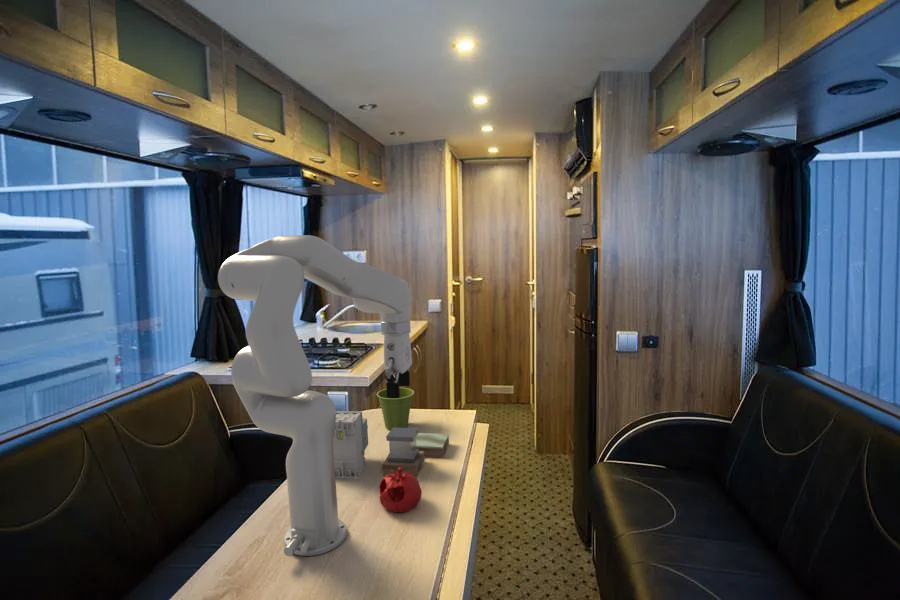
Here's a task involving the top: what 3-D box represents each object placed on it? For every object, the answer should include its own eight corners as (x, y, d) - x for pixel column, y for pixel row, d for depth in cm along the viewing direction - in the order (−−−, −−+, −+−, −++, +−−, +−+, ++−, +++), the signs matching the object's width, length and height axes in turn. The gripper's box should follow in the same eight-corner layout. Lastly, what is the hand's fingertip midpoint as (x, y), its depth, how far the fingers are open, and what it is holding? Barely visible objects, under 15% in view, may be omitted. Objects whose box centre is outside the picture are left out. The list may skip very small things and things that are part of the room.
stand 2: (443, 457, 147) (442, 447, 146) (411, 455, 149) (410, 445, 148) (448, 443, 156) (448, 434, 155) (418, 442, 157) (418, 432, 157)
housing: (413, 463, 137) (412, 437, 136) (387, 461, 139) (386, 436, 137) (419, 453, 143) (418, 428, 142) (394, 452, 144) (392, 427, 143)
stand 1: (416, 477, 136) (416, 466, 136) (382, 475, 138) (382, 464, 137) (424, 461, 145) (424, 451, 144) (392, 459, 146) (392, 449, 146)
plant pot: (414, 433, 165) (413, 398, 163) (376, 434, 164) (374, 399, 163) (416, 419, 176) (415, 386, 175) (380, 420, 176) (378, 387, 174)
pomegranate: (402, 490, 130) (401, 454, 129) (430, 504, 123) (429, 466, 122) (369, 506, 123) (368, 467, 122) (397, 521, 116) (395, 481, 115)
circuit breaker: (370, 454, 151) (367, 403, 148) (357, 478, 137) (353, 422, 134) (344, 453, 151) (341, 403, 149) (328, 477, 137) (324, 422, 135)
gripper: (400, 334, 128) (403, 403, 130) (418, 321, 144) (420, 382, 147) (370, 334, 129) (374, 402, 132) (391, 321, 146) (394, 381, 148)
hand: (398, 391), depth 139 cm, fingers open, 9 cm apart
